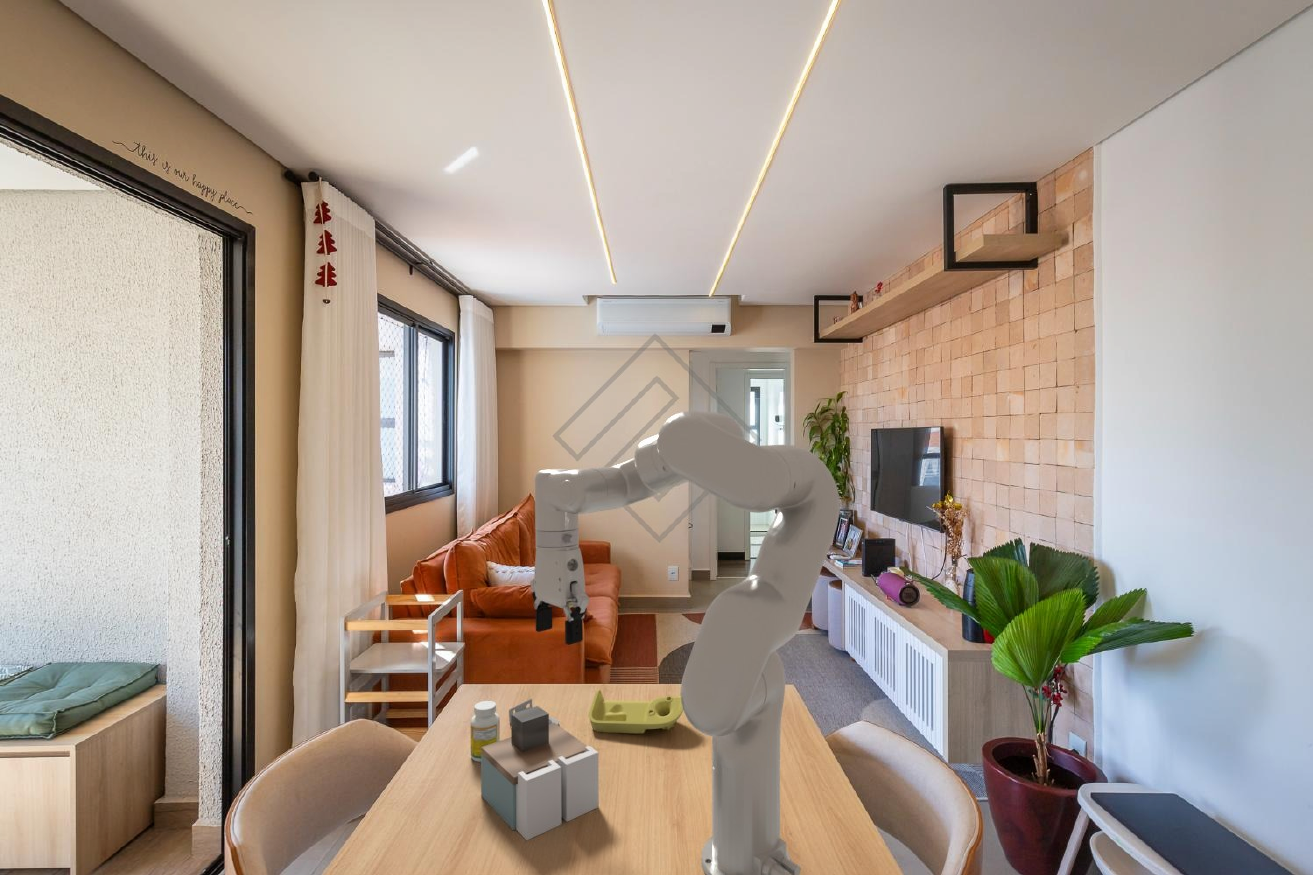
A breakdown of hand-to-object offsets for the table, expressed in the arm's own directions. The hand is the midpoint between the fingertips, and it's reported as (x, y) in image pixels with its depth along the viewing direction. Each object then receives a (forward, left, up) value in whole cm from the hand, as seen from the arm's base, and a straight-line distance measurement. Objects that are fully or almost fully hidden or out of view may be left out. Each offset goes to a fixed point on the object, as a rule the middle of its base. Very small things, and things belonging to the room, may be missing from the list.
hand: (558, 636), depth 108 cm
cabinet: (-3, +5, -26) cm, 26 cm away
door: (-1, +5, -19) cm, 19 cm away
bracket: (+23, -8, -26) cm, 35 cm away
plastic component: (+7, -23, -26) cm, 36 cm away
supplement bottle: (+17, +6, -26) cm, 31 cm away
